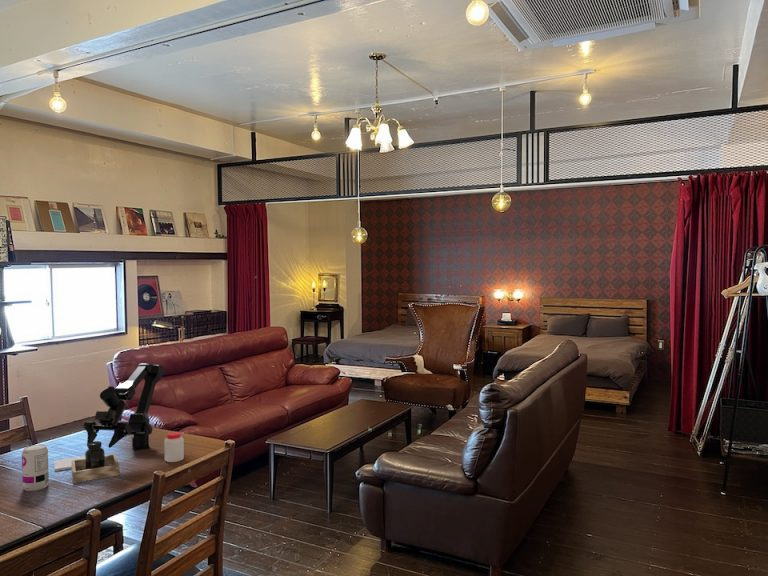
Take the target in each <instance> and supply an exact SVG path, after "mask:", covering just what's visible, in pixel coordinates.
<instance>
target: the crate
mask: <svg viewBox="0 0 768 576" xmlns="http://www.w3.org/2000/svg"><path fill="white" fill-rule="evenodd" d="M85 468H86V462H85V459H78V460H72V469H71V475H72V476H71V477H72V484H76V483H81V481H82V482H87V481H86V480H88V481H93V479H94V480H99V479H103V478H104V479H105V478H111V477H117V476H120V474H121V473H120V463H119V460H118V458H117V455H116V453H111V454H106V455H105V467H99V468H93V469H87V470H86V469H85ZM80 469H82V470H80ZM75 482H76V483H75Z"/></svg>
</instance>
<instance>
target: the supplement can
mask: <svg viewBox="0 0 768 576" xmlns="http://www.w3.org/2000/svg"><path fill="white" fill-rule="evenodd" d="M21 464H22V465H21V472H22V473H21V474H22V475H21V477H22V478H21V479H22V489H23V490H24V491H26V492H35V491H40V490H43V489H45V488H47V487H48V486H49V485H50V484H49V482H50V479H49V478H50V477H49V476H50V475H49V449H48V447H47V445H46V444H34V445H28V446H26V447H24V448H23V451H22V453H21Z"/></svg>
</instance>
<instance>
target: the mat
mask: <svg viewBox="0 0 768 576" xmlns="http://www.w3.org/2000/svg"><path fill="white" fill-rule="evenodd" d="M78 459H85V455H82V456H77V457H68V458H63V459H56V460H54V472H60V471H59V470H62V471H66V469H68V470H72V460H78Z"/></svg>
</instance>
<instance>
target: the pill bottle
mask: <svg viewBox="0 0 768 576" xmlns="http://www.w3.org/2000/svg"><path fill="white" fill-rule="evenodd" d="M184 440H185V439H184V437H183V436H181V431H171V432H167V434H166V438H164V440H163V441H164V444H163V447H164V449H163V450H164V451H163V452H164V461H165V462H166V461H167V463H175V462H180V461H182V460H184V459H185V452H184V451H185V450H184V449H185V448H184V447H185V446H184Z"/></svg>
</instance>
